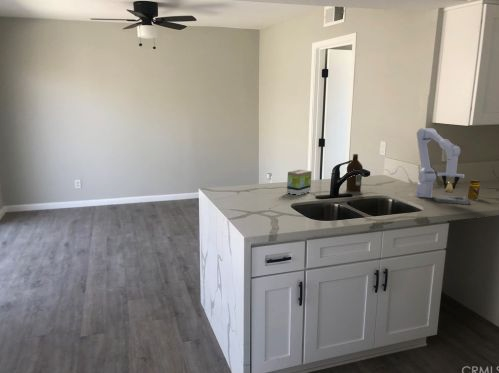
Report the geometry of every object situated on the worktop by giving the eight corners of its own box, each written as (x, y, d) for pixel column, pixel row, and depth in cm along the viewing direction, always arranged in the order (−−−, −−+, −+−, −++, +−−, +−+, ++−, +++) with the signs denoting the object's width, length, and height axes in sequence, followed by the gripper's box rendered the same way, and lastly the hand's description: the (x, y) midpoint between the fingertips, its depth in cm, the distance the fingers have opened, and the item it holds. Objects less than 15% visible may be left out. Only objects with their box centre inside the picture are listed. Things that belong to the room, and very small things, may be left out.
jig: (435, 201, 261) (436, 198, 260) (435, 197, 271) (435, 194, 270) (468, 204, 254) (468, 201, 254) (466, 200, 264) (467, 197, 264)
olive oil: (342, 190, 292) (344, 154, 286) (351, 188, 299) (353, 152, 294) (355, 192, 284) (358, 155, 279) (364, 190, 291) (366, 154, 286)
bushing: (445, 192, 255) (446, 182, 254) (445, 190, 259) (446, 181, 257) (452, 193, 253) (453, 183, 252) (452, 191, 257) (453, 181, 256)
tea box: (299, 196, 273) (300, 173, 270) (286, 193, 279) (286, 171, 276) (311, 192, 285) (311, 170, 282) (298, 190, 291) (298, 168, 288)
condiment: (478, 200, 265) (480, 181, 262) (463, 198, 269) (465, 180, 266) (478, 198, 271) (481, 179, 269) (464, 196, 275) (466, 178, 273)
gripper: (438, 166, 252) (436, 188, 255) (465, 168, 246) (463, 191, 249) (438, 164, 258) (436, 186, 261) (464, 166, 253) (462, 188, 255)
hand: (449, 188), depth 255 cm, fingers closed on bushing, 4 cm apart
